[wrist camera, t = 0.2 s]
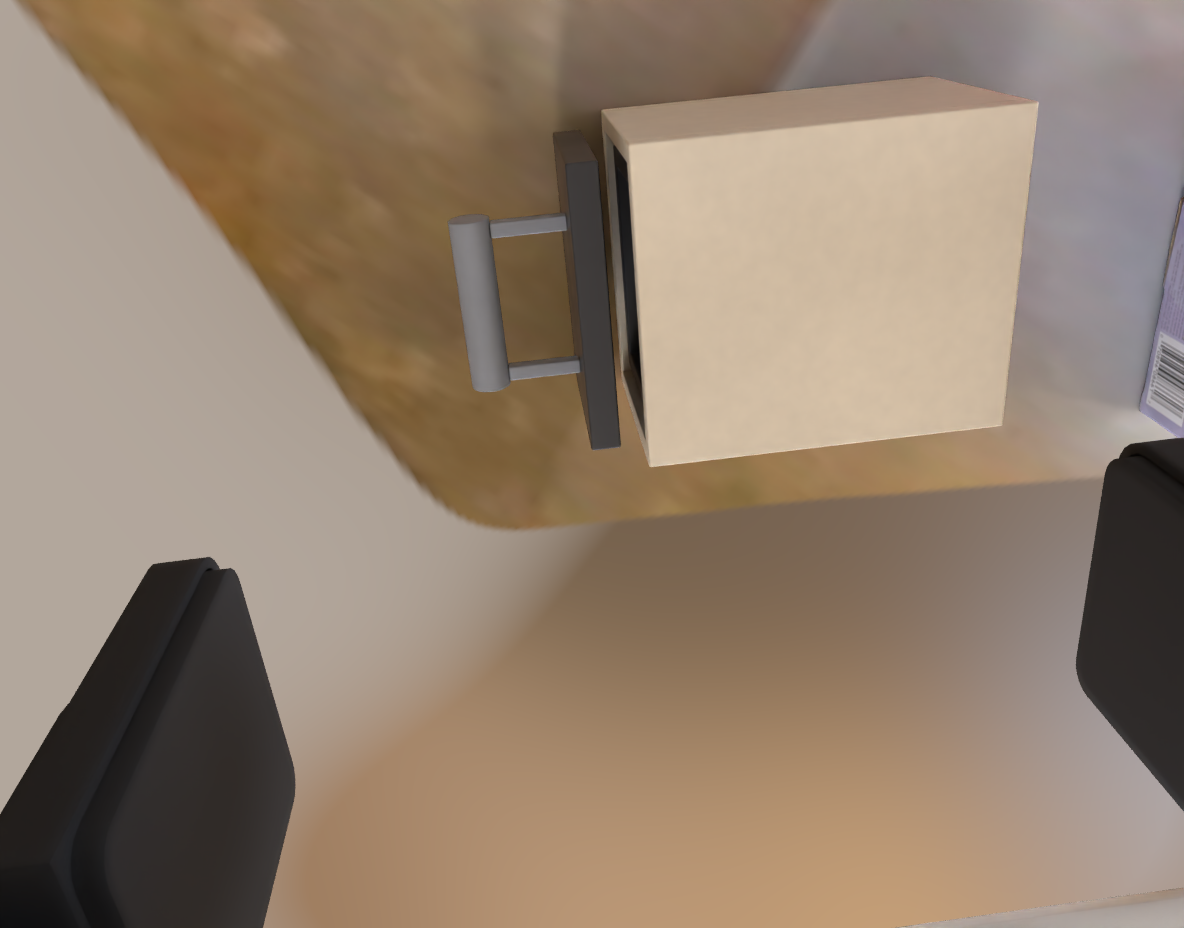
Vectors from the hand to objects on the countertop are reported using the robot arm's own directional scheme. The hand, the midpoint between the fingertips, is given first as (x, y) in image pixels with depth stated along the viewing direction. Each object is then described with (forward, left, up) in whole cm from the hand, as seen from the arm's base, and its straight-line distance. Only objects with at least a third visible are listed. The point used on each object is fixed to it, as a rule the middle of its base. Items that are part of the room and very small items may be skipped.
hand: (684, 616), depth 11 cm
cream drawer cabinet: (+6, +10, -36) cm, 38 cm away
